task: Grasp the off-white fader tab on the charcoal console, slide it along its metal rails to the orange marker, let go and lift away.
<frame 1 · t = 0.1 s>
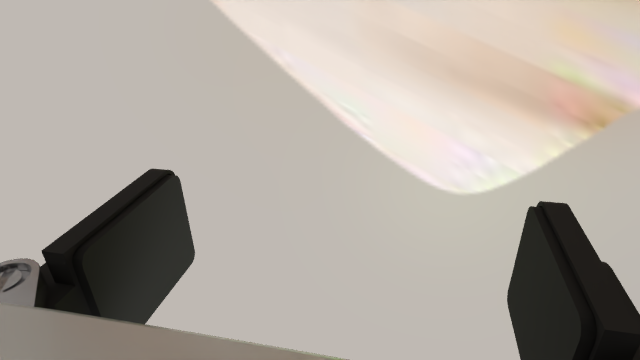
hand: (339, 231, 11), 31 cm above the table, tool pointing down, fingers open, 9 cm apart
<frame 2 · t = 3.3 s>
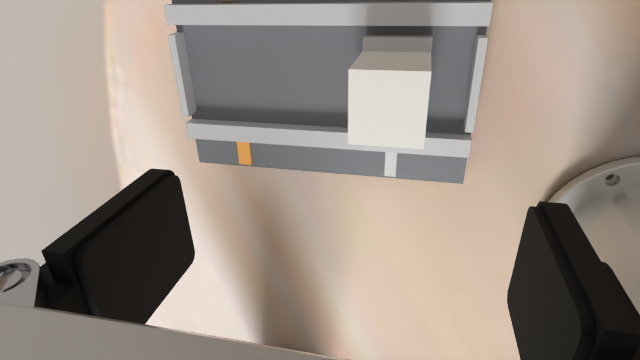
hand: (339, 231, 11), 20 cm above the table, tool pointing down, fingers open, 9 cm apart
fader tab: (391, 94, 23), point 5 cm above the table, slide at 0.0 cm
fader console: (326, 71, 29), on the table
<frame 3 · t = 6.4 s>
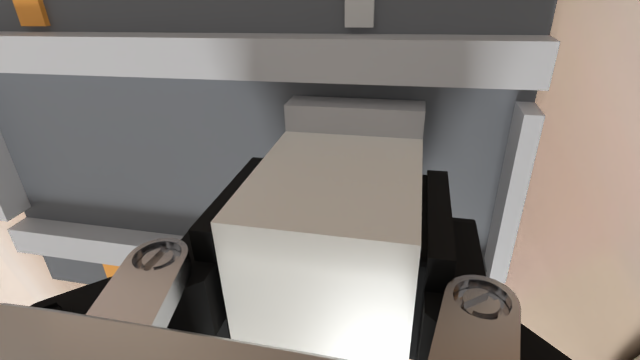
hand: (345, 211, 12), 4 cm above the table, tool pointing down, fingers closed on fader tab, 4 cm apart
fader tab: (339, 231, 11), point 5 cm above the table, slide at 0.0 cm, touching gripper
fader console: (241, 144, 17), on the table
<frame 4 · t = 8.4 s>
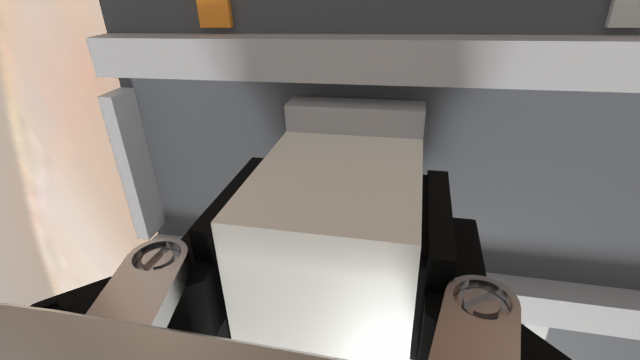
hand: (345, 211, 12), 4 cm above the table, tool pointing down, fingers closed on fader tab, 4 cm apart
fader tab: (340, 231, 11), point 5 cm above the table, slide at 6.6 cm, touching gripper
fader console: (408, 155, 15), on the table
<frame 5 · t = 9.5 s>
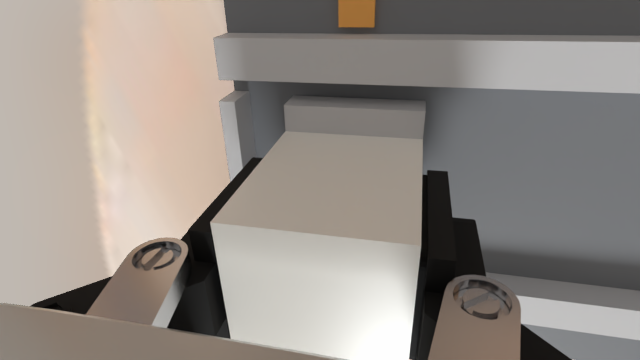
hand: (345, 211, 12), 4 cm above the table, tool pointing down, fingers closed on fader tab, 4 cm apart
fader tab: (339, 231, 11), point 5 cm above the table, slide at 10.9 cm, touching gripper
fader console: (533, 164, 14), on the table
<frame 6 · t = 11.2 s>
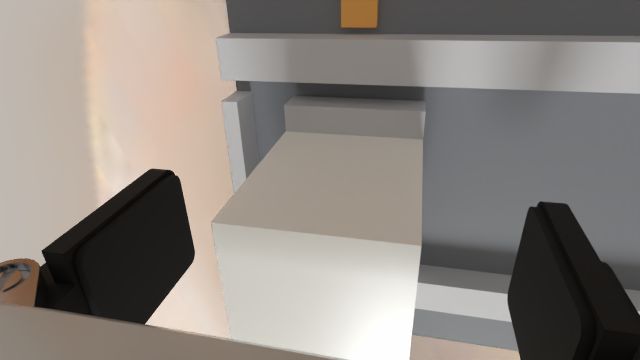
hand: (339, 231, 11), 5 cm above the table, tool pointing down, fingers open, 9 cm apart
fader tab: (339, 231, 11), point 5 cm above the table, slide at 11.0 cm
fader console: (535, 164, 14), on the table
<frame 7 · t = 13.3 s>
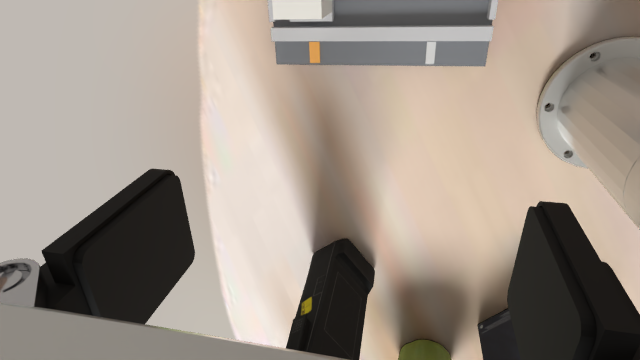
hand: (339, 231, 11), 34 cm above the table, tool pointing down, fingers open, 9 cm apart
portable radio: (341, 259, 55), on the table
plant pot: (423, 354, 60), on the table
small box: (519, 335, 55), on the table
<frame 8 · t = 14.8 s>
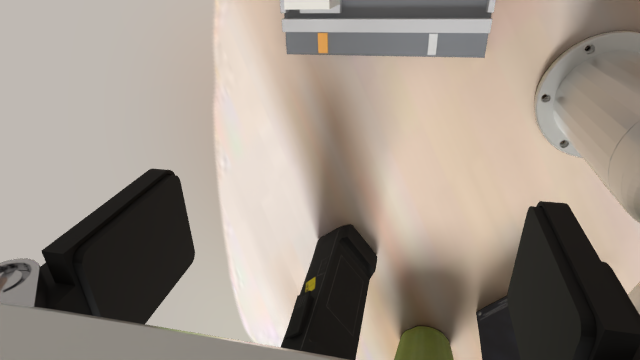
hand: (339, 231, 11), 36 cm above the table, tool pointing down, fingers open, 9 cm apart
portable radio: (345, 245, 57), on the table
plant pot: (423, 341, 62), on the table
small box: (517, 324, 56), on the table
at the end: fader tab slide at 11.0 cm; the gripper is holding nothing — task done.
